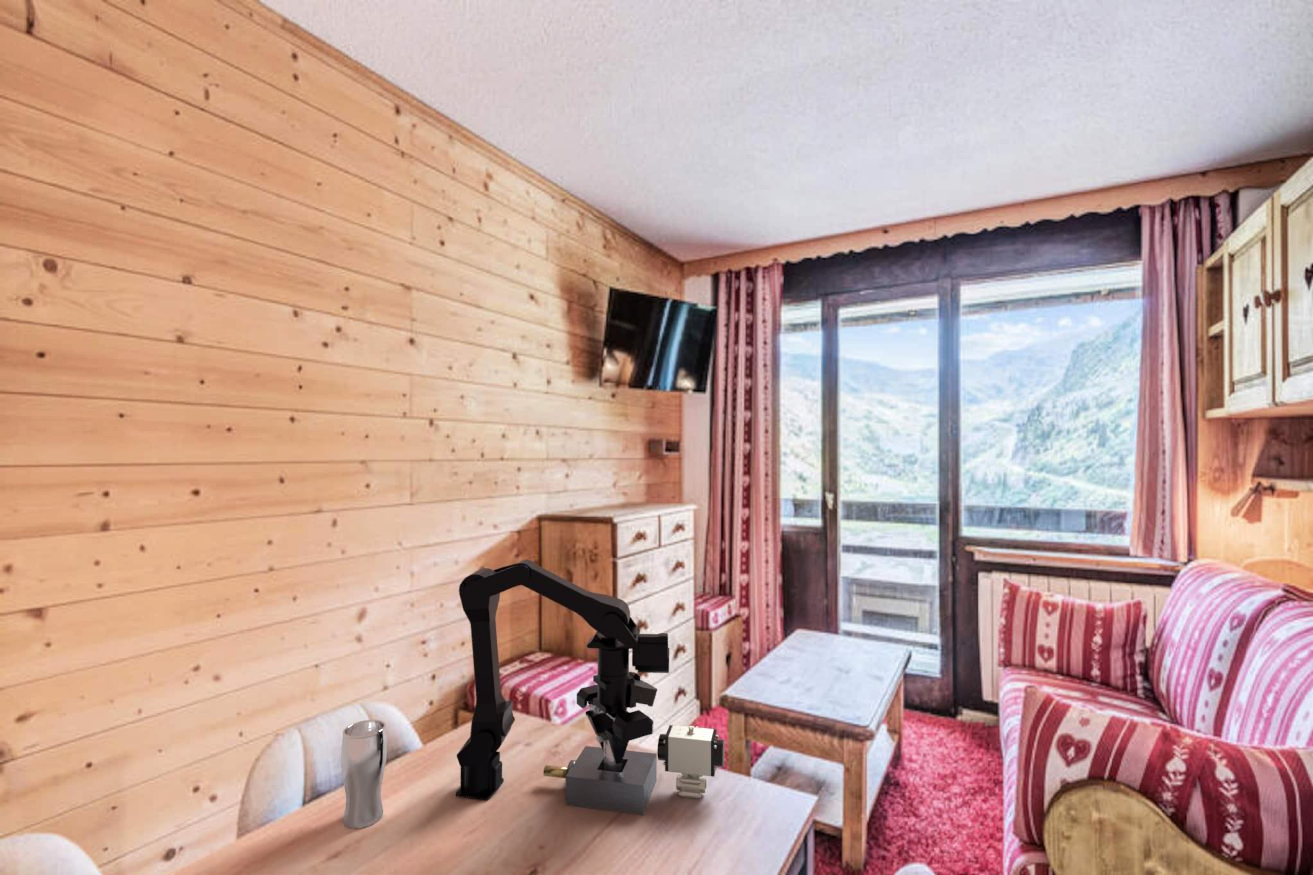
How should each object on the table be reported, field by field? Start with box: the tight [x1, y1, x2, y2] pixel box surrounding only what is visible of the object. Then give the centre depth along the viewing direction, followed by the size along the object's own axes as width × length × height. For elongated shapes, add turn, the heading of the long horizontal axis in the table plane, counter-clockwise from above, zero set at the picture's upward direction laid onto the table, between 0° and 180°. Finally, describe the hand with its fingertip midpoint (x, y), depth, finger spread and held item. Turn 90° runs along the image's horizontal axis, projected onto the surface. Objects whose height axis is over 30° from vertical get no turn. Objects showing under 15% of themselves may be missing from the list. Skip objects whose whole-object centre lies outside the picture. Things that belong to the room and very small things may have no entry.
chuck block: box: [543, 745, 658, 816], centre depth 110 cm, size 20×11×5 cm, turn 78°
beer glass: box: [340, 719, 388, 830], centre depth 102 cm, size 7×7×15 cm
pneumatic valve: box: [656, 724, 726, 800], centre depth 110 cm, size 6×12×12 cm, turn 78°
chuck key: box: [595, 731, 622, 772], centre depth 109 cm, size 6×3×9 cm, turn 123°
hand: (612, 757), depth 109 cm, fingers open, 4 cm apart
